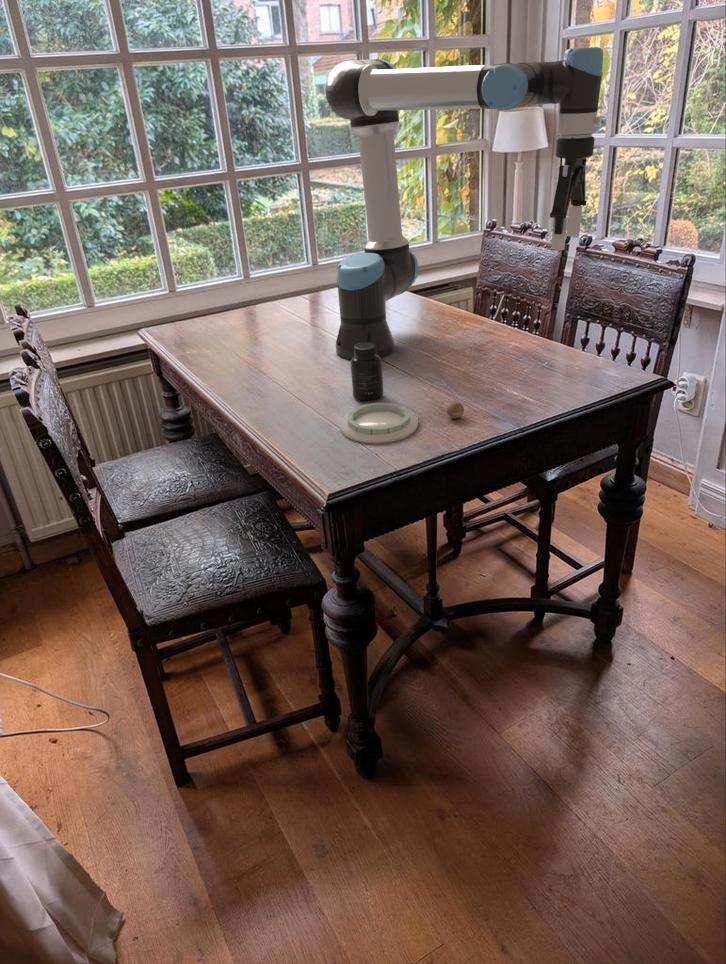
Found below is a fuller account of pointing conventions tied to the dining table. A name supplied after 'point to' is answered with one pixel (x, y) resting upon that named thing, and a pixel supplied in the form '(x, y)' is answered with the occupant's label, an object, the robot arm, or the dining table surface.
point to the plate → (378, 423)
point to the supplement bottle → (366, 373)
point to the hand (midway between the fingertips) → (565, 242)
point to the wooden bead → (455, 410)
